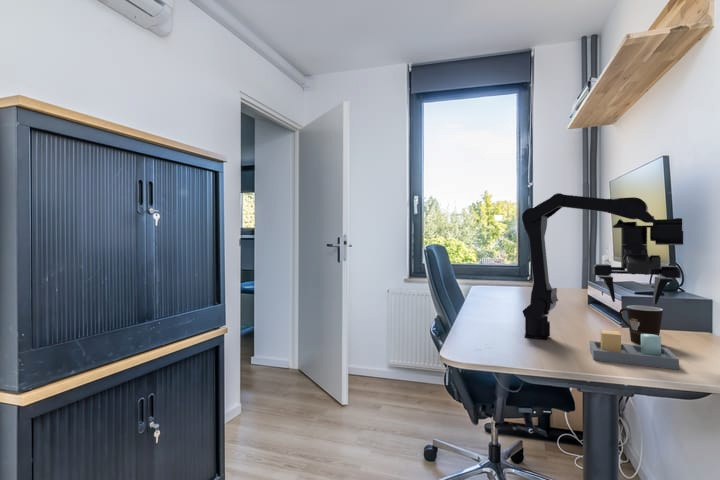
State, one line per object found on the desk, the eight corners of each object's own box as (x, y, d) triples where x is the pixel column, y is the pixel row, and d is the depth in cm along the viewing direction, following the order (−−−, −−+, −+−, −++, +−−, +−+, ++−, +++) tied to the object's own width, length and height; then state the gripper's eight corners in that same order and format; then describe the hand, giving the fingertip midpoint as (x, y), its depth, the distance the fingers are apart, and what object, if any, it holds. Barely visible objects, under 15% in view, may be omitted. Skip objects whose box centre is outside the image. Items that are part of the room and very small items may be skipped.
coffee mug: (669, 347, 108) (669, 311, 108) (634, 345, 110) (634, 310, 109) (647, 336, 119) (647, 304, 119) (616, 335, 121) (616, 303, 121)
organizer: (593, 359, 97) (593, 350, 97) (589, 349, 106) (589, 340, 106) (678, 369, 90) (678, 359, 90) (667, 357, 99) (667, 348, 99)
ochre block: (602, 352, 99) (602, 333, 99) (600, 348, 103) (600, 329, 103) (621, 354, 97) (621, 335, 97) (618, 350, 101) (618, 331, 101)
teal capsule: (642, 357, 95) (642, 336, 95) (639, 352, 99) (639, 333, 99) (663, 359, 94) (662, 338, 94) (659, 354, 97) (658, 334, 97)
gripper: (596, 245, 101) (596, 305, 101) (687, 245, 93) (687, 310, 93) (592, 244, 111) (592, 299, 111) (674, 244, 103) (674, 303, 103)
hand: (634, 302), depth 104 cm, fingers open, 9 cm apart
